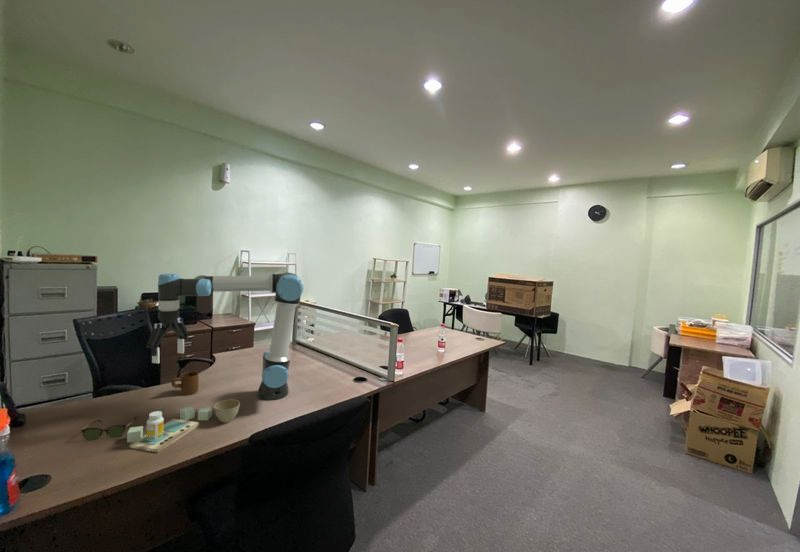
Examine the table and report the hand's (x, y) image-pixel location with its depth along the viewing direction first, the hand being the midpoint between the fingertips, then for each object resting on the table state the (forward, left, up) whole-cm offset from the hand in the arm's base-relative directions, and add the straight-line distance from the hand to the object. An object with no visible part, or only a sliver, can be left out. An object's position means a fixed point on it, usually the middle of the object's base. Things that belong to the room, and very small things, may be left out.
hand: (168, 357), depth 147 cm
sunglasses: (+12, +15, -27) cm, 33 cm away
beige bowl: (-26, -4, -26) cm, 37 cm away
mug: (+10, -21, -26) cm, 35 cm away
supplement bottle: (-11, +17, -25) cm, 32 cm away
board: (-12, +13, -26) cm, 32 cm away
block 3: (-16, -3, -26) cm, 31 cm away
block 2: (-9, -1, -26) cm, 28 cm away
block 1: (-3, +18, -26) cm, 32 cm away
